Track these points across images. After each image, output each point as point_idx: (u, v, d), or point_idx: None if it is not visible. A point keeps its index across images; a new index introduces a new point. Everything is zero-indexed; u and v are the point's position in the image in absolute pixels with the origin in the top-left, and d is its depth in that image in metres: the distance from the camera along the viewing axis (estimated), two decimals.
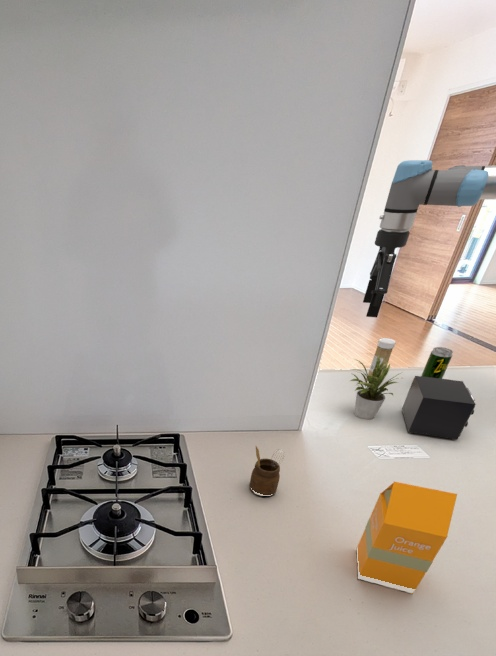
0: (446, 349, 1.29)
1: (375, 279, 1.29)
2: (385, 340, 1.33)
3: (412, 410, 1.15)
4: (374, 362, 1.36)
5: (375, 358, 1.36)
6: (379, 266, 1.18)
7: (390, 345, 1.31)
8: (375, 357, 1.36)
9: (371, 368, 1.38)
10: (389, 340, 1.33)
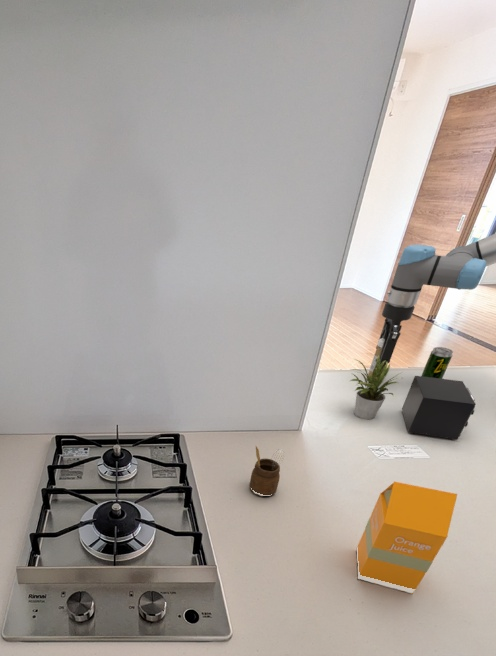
0: (446, 349, 1.29)
1: None
2: None
3: (412, 410, 1.15)
4: (374, 362, 1.36)
5: (375, 358, 1.36)
6: (385, 337, 1.30)
7: None
8: (375, 357, 1.36)
9: (371, 368, 1.38)
10: None
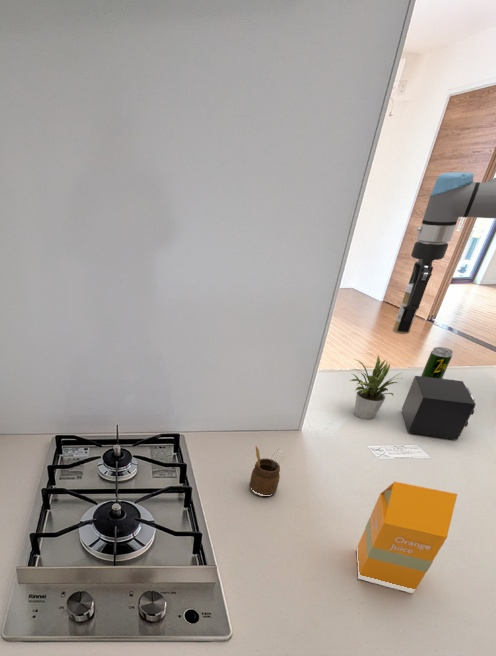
0: (446, 349, 1.29)
1: None
2: None
3: (412, 410, 1.15)
4: (401, 310, 1.25)
5: (402, 306, 1.24)
6: (414, 281, 1.19)
7: None
8: (402, 305, 1.24)
9: (398, 318, 1.26)
10: None
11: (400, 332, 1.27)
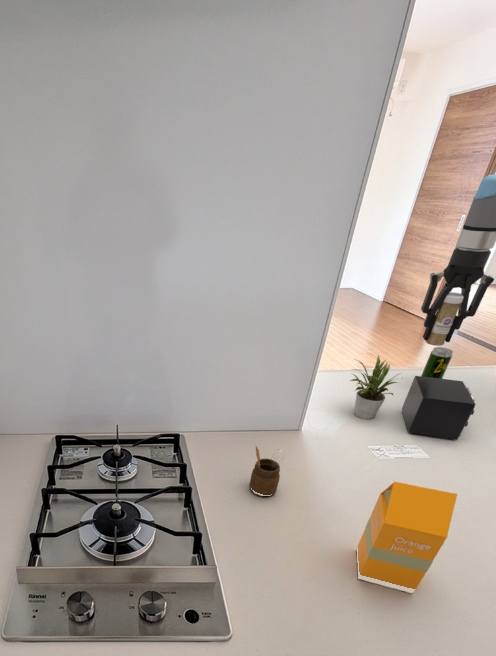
0: (446, 349, 1.29)
1: (458, 315, 1.15)
2: (452, 293, 1.14)
3: (412, 410, 1.15)
4: None
5: None
6: (444, 285, 1.14)
7: None
8: None
9: None
10: (455, 294, 1.13)
11: (425, 340, 1.22)
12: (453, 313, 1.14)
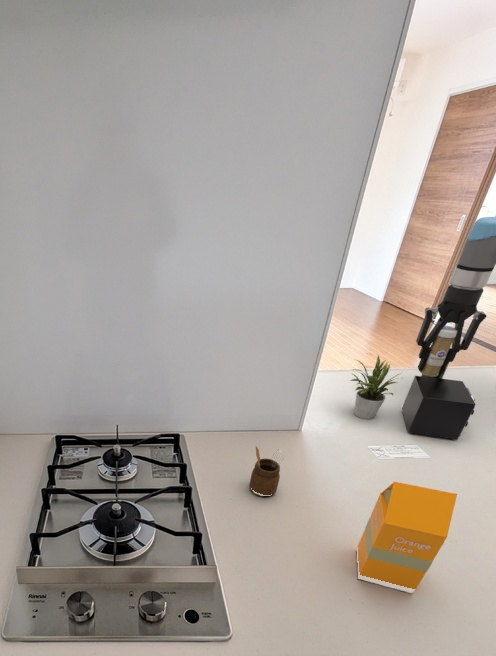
0: None
1: (451, 348, 1.19)
2: (446, 327, 1.17)
3: (412, 410, 1.15)
4: None
5: None
6: (438, 319, 1.18)
7: None
8: None
9: None
10: (449, 329, 1.17)
11: None
12: (447, 347, 1.18)
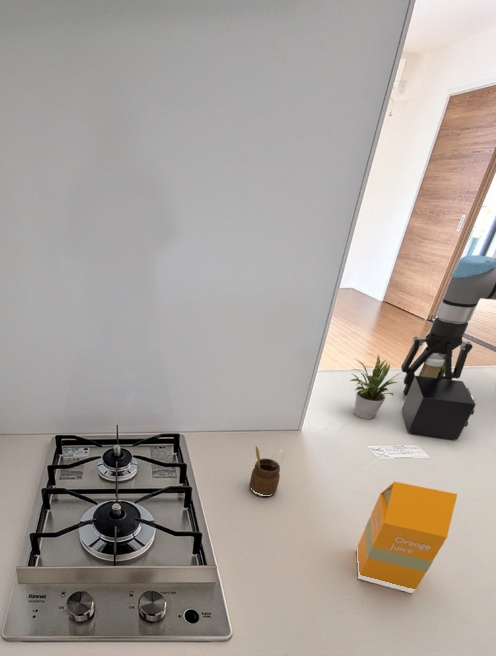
0: None
1: (444, 376, 1.23)
2: (434, 356, 1.22)
3: (412, 410, 1.15)
4: None
5: None
6: (425, 349, 1.23)
7: (426, 360, 1.22)
8: None
9: None
10: (436, 358, 1.21)
11: None
12: (435, 375, 1.23)
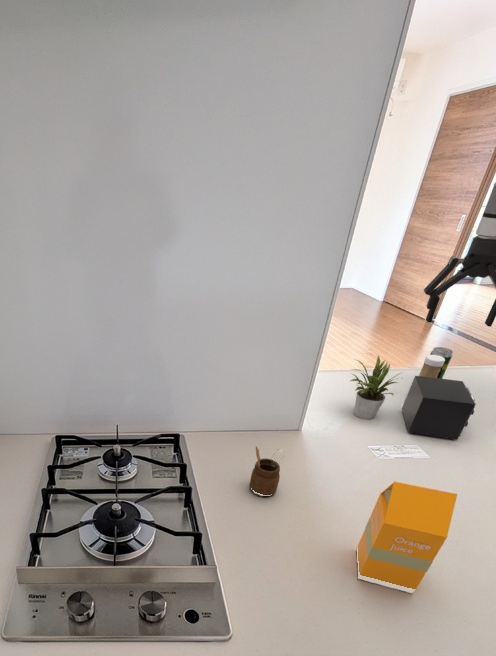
0: (446, 349, 1.29)
1: None
2: (434, 356, 1.22)
3: (412, 410, 1.15)
4: None
5: None
6: (458, 271, 1.12)
7: (426, 360, 1.22)
8: None
9: None
10: (436, 358, 1.21)
11: None
12: (435, 375, 1.23)
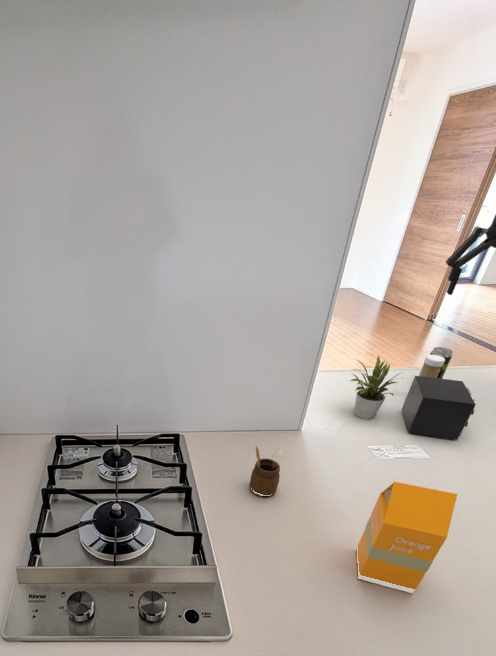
0: (446, 349, 1.29)
1: None
2: (434, 356, 1.22)
3: (412, 410, 1.15)
4: None
5: None
6: (482, 242, 1.12)
7: (426, 360, 1.22)
8: None
9: None
10: (436, 358, 1.21)
11: None
12: (435, 375, 1.23)
